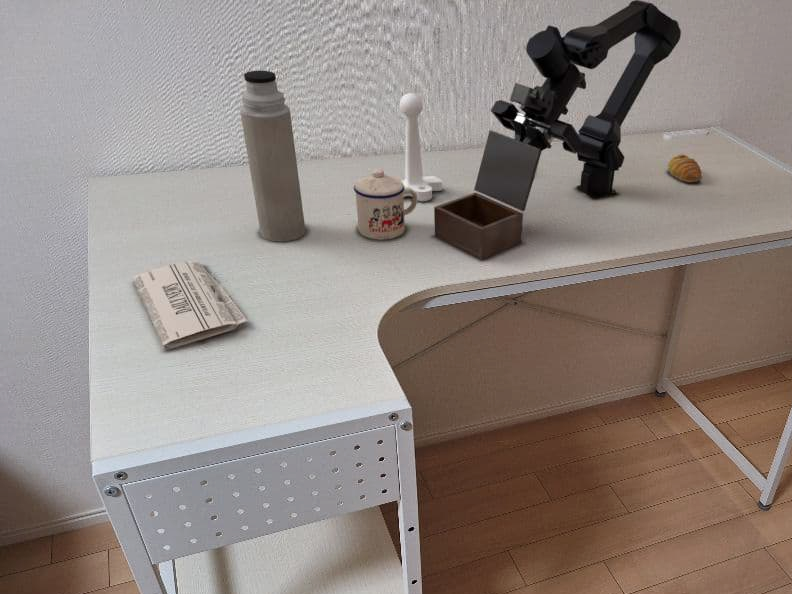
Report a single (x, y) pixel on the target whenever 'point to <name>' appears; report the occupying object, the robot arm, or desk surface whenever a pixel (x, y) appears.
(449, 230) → the wooden box
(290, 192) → the thermos bottle
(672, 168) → the pastry
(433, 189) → the joystick
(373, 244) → the desk surface
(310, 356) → the desk surface
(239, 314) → the newspaper
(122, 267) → the desk surface
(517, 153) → the dark grey flat tile
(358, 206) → the teacup with lid
